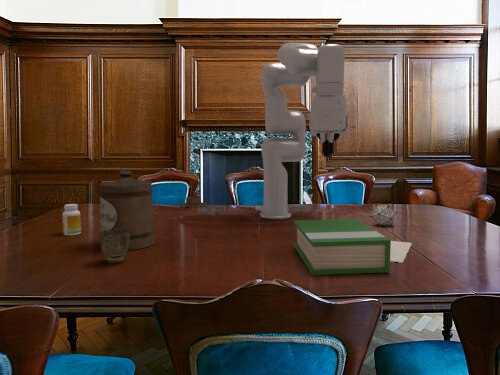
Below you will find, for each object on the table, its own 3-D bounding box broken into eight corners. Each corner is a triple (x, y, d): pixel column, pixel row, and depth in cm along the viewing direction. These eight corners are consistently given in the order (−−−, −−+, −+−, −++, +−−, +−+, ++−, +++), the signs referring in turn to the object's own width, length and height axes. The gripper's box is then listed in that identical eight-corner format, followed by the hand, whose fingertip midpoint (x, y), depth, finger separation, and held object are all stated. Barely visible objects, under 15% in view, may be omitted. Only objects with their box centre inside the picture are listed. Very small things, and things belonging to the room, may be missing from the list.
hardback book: (294, 246, 115) (312, 274, 91) (294, 220, 114) (312, 242, 91) (356, 244, 116) (389, 272, 92) (356, 219, 115) (390, 240, 92)
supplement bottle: (84, 232, 136) (83, 203, 135) (73, 236, 131) (71, 206, 130) (71, 231, 138) (70, 203, 137) (59, 235, 133) (58, 205, 132)
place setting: (170, 207, 195) (170, 195, 194) (194, 202, 212) (194, 191, 212) (201, 210, 187) (201, 197, 186) (223, 204, 205) (223, 192, 204)
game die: (388, 236, 146) (400, 217, 139) (365, 227, 147) (376, 208, 141) (390, 221, 153) (402, 201, 146) (368, 212, 154) (379, 192, 147)
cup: (104, 258, 106) (103, 227, 105) (133, 257, 106) (132, 226, 105) (96, 266, 98) (94, 233, 97) (127, 265, 99) (126, 233, 98)
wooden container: (99, 241, 124) (96, 168, 122) (149, 237, 130) (147, 167, 127) (103, 253, 110) (99, 171, 108) (158, 248, 116) (156, 170, 114)
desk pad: (322, 253, 109) (322, 252, 109) (343, 237, 128) (343, 236, 128) (402, 263, 100) (402, 261, 100) (411, 244, 119) (412, 242, 119)
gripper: (299, 91, 115) (298, 156, 118) (353, 88, 109) (350, 158, 111) (308, 93, 122) (307, 155, 124) (359, 91, 115) (356, 156, 118)
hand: (327, 156), depth 118 cm, fingers closed
